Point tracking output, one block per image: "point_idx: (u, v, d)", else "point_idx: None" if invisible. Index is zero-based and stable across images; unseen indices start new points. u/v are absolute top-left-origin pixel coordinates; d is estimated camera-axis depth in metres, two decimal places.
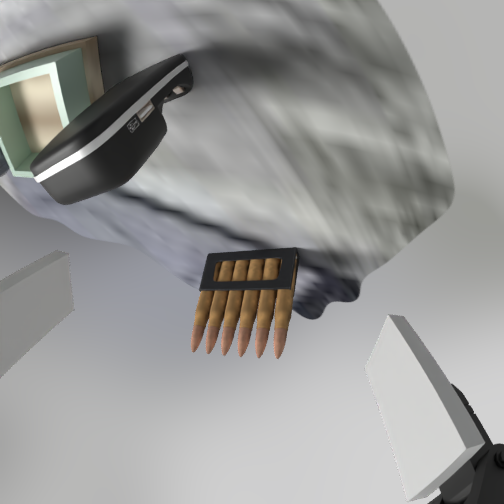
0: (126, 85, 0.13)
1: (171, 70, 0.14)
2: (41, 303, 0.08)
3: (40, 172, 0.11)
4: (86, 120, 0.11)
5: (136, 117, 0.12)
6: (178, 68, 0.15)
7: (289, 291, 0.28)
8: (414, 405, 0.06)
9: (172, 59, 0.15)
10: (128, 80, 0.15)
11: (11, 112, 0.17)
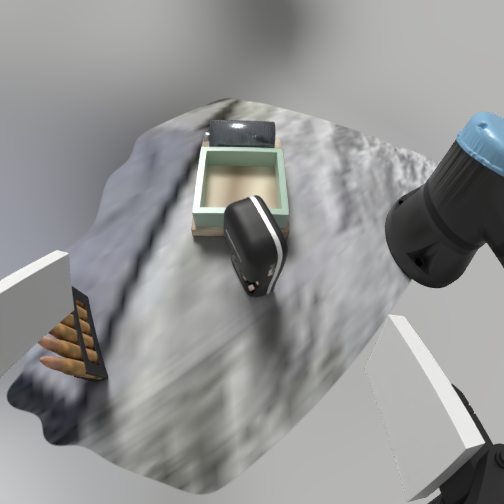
0: None
1: (272, 284, 0.31)
2: (41, 303, 0.08)
3: (260, 205, 0.25)
4: None
5: (273, 267, 0.26)
6: (270, 288, 0.32)
7: (84, 372, 0.23)
8: (414, 405, 0.06)
9: (274, 285, 0.32)
10: None
11: (248, 162, 0.39)
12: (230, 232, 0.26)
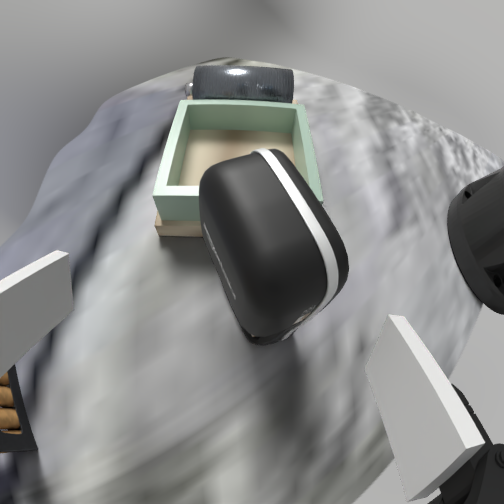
0: None
1: None
2: (41, 303, 0.08)
3: (281, 165, 0.10)
4: None
5: (309, 312, 0.11)
6: (289, 334, 0.17)
7: None
8: (414, 405, 0.06)
9: None
10: None
11: (251, 125, 0.25)
12: (211, 229, 0.11)
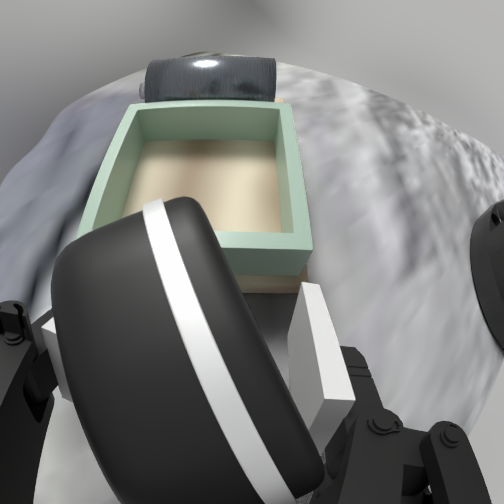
0: None
1: None
2: None
3: (182, 252, 0.04)
4: None
5: None
6: None
7: None
8: (303, 360, 0.08)
9: None
10: None
11: (221, 132, 0.19)
12: None
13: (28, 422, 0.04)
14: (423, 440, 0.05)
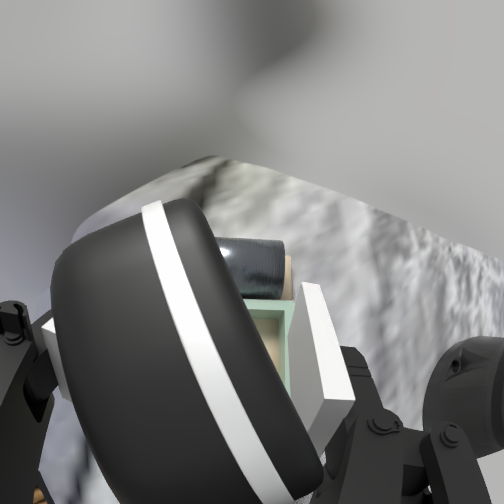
0: None
1: None
2: None
3: (181, 254, 0.04)
4: None
5: None
6: None
7: None
8: (303, 360, 0.08)
9: None
10: None
11: None
12: None
13: (28, 422, 0.04)
14: (423, 440, 0.05)
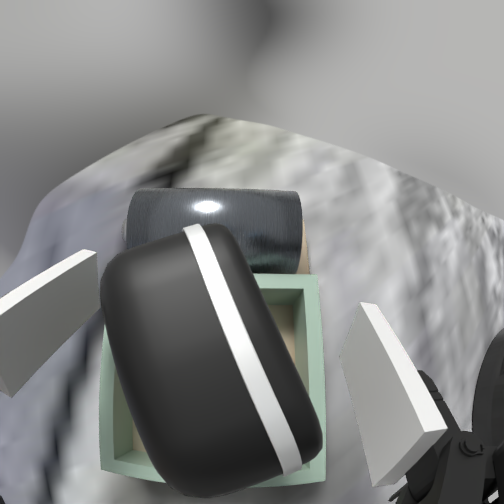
0: None
1: None
2: (71, 301, 0.09)
3: (222, 269, 0.06)
4: None
5: None
6: None
7: None
8: (379, 389, 0.07)
9: None
10: None
11: None
12: None
13: None
14: (496, 451, 0.04)
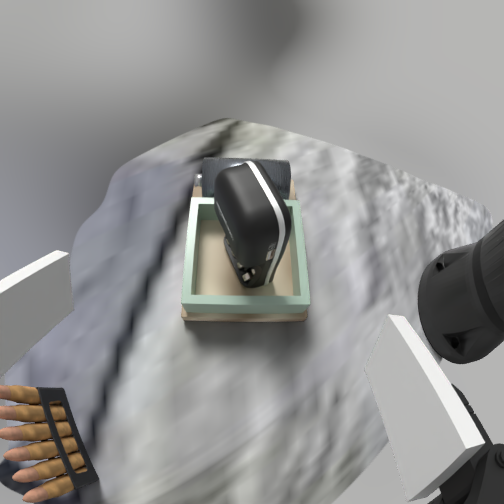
0: None
1: (271, 273, 0.26)
2: (41, 303, 0.08)
3: (258, 170, 0.20)
4: None
5: (273, 248, 0.21)
6: (268, 278, 0.26)
7: (72, 488, 0.14)
8: (414, 405, 0.06)
9: (274, 274, 0.27)
10: None
11: None
12: (221, 203, 0.21)
13: None
14: None
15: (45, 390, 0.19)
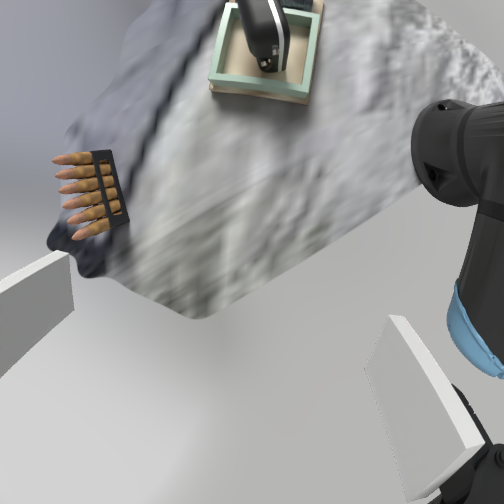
0: None
1: (282, 64, 0.26)
2: (41, 303, 0.08)
3: None
4: None
5: (276, 48, 0.21)
6: (280, 67, 0.27)
7: (108, 227, 0.33)
8: (414, 405, 0.06)
9: (286, 65, 0.27)
10: None
11: None
12: (240, 14, 0.19)
13: None
14: None
15: (97, 152, 0.31)
